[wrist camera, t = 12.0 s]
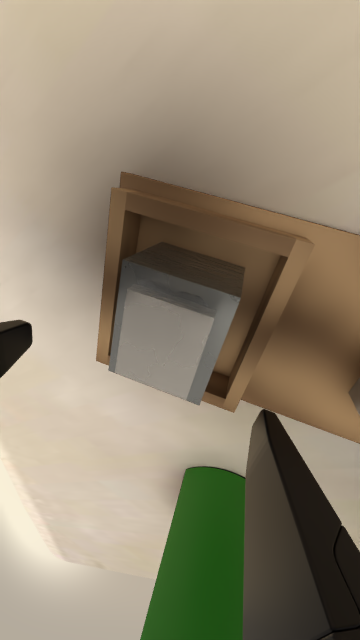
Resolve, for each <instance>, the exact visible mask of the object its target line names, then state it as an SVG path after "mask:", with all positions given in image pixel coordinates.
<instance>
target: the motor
mask: <svg viewBox="0 0 360 640" xmlns="http://www.w3.org/2000/svg"><path fill="white" fill-rule="evenodd" d="M245 482H246V479H244V478H242V477H240V476H238V475H236V474H234V473H231V472H228V471H225V470H221V469H216V468H209V467H195V468H190V469H186V471H185V475H184V478H183V482H182V486H181V490H180V493H179V497H178V501H177V505H176V508H175V512H174V516H173V519H172V523H171V527H170V531H169V534H168V538H167V542H166V546H165V549H164V553H163V557H162V560H161V564H160V568H159V572H158V575H157V579H156V583H155V587H154V591H153V594H152V598H151V601H150V605H149V609H148V613H147V616H146V620H145V624H144V628H143V632H142V635H141V639H140V640H243V589H244V535H245Z"/></svg>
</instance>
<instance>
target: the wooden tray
mask: <svg viewBox="0 0 360 640" xmlns="http://www.w3.org/2000/svg"><path fill="white" fill-rule="evenodd" d="M160 242H165V243H168V244H171V245H174V246H178V247H181V248H184V249H187V250H191V251H194V252H197V253H200V254H204V255H207V256H210V257H213V258H217V259H220V260H223V261H226V262H230V263H233V264H236V265H239V266H243V267H245V273H244V280H243V287H242V294H241V299H240V302H239V304H238V307H237V309H236V312H235V314H234V317H233V320H232V322H231V325H230V327H229V330H228V333H227V335H226V338H225V340H224V343H223V345H222V348H221V351H220V353H219V356H218V358H217V361H216V364H215V366H214V369H213V371H212V374H211V376H210V379H209V382H208V384H207V387H206V389H205V392H204V394H203V397H202V400H201V401H204V402H207V403H209V404H212V405H215V406H217V407H220V408H223V409H225V410H228V411H231V412H233V413H234V412H235V410H236V408H237V406H238V403H239V401H240V400H243V401H246V402H249V403H251V404H254V405H257V406H259V407H262V408H265V409H267V410H270V411H273V412H276V413H278V414H281V415H284V416H286V417H289V418H292V419H295V420H297V421H300V422H303V423H305V424H308V425H311V426H313V427H316V428H319V429H322V430H324V431H327V432H330V433H332V434H335V435H338V436H340V437H343V438H346V439H349V440H351V441H354V442H357V443H359V444H360V235H357V234H353V233H349V232H346V231H342V230H338V229H335V228H331V227H327V226H323V225H320V224H316V223H312V222H309V221H305V220H301V219H297V218H294V217H290V216H286V215H283V214H279V213H275V212H272V211H268V210H264V209H260V208H257V207H253V206H249V205H246V204H242V203H238V202H235V201H231V200H227V199H223V198H220V197H216V196H212V195H209V194H205V193H201V192H197V191H194V190H190V189H186V188H183V187H179V186H175V185H172V184H168V183H164V182H160V181H157V180H153V179H149V178H146V177H142V176H138V175H135V174H131V173H126V172H121V178H120V188H111V199H110V210H109V222H108V233H107V244H106V255H105V266H104V278H103V289H102V300H101V311H100V322H99V334H98V345H97V356H96V361H98V362H101V363H103V364H106V365H109V362H110V354H111V346H112V339H113V331H114V323H115V315H116V308H117V300H118V292H119V284H120V276H121V269H122V261H123V259H125V258H127V257H130V256H132V255H134V254H136V253H138V252H140V251H143V250H145V249H147V248H149V247H151V246H153V245H156V244H158V243H160Z"/></svg>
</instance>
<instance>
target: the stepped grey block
mask: <svg viewBox="0 0 360 640" xmlns="http://www.w3.org/2000/svg"><path fill="white" fill-rule="evenodd" d="M244 273H245V267H243V266H239V265H236V264H233V263H230V262H226V261H223V260H220V259H217V258H213V257H210V256H207V255H204V254H200V253H197V252H194V251H191V250H187V249H184V248H181V247H178V246H174V245H171V244H168V243H165V242H160V243H158V244H156V245H153V246H151V247H149V248H147V249H145V250H143V251H140V252H138V253H136V254H134V255H132V256H130V257H127V258H125V259H123V261H122V269H121V276H120V284H119V292H118V300H117V308H116V315H115V323H114V331H113V339H112V346H111V354H110V362H109V371H111V372H114V373H116V374H119V375H122V376H124V377H127V378H129V379H132V380H135V381H137V382H140V383H142V384H145V385H148V386H150V387H153V388H155V389H158V390H161V391H163V392H166V393H168V394H171V395H174V396H176V397H179V398H181V399H184V400H187V401H189V402H192V403H194V404H197V405H200V402H201V400H202V397H203V394H204V392H205V389H206V387H207V384H208V382H209V379H210V376H211V374H212V371H213V369H214V366H215V364H216V361H217V358H218V356H219V353H220V351H221V348H222V345H223V343H224V340H225V338H226V335H227V333H228V330H229V327H230V325H231V322H232V320H233V317H234V314H235V312H236V309H237V307H238V304H239V302H240V299H241V294H242V287H243V280H244Z"/></svg>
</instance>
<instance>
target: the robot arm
mask: <svg viewBox="0 0 360 640" xmlns="http://www.w3.org/2000/svg"><path fill="white" fill-rule="evenodd" d="M31 344H32V326H31V324H30V323H28V322H26V321H23V320H14V321H7V322H1V323H0V378H1V377H2V376H3V375H4V374H5V373H6V372H7V371H8V370H9V369H10V368H11V367H12V366H13V364H14V363H15V362H16V361H17V360H18V359H19V358H20V357H21V356H22V355H23V354H24V353H25V352H26V351H27V350H28V348H29V347H30V346H31ZM341 525H342V523H341V521H340V519H339V517H338V516H337V514H336V513H335V511H334V509H333V508H332V506H331V504H330V503H329V501H328V499H327V498H326V496H325V494H324V493H323V491H322V490H321V488H320V486H319V485H318V483H317V481H316V480H315V478H314V476H313V475H312V473H311V471H310V470H309V468H308V467H307V465H306V463H305V462H304V460H303V458H302V457H301V455H300V453H299V452H298V450H297V448H296V447H295V445H294V444H293V442H292V440H291V439H290V437H289V435H288V434H287V432H286V430H285V429H284V427H283V425H282V424H281V422H280V421H279V419H278V417H277V416H276V414H275V413H273V412H271V411H268V410H265V409H263V410H261V412H260V413H259V415H258V417H257V419H256V421H255V422H254V424H253V427H252V431H251V438H250V446H249V453H248V461H247V469H246V482H245V535H244V589H243V640H360V551H359V550H358V548H357V547H356V545H355V544H354V542H353V540H352V539H351V537H350V535H349V534H348V532H347V530H346V529H345V527H344V526H341Z"/></svg>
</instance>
